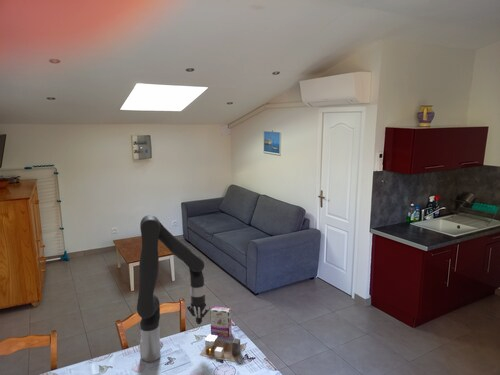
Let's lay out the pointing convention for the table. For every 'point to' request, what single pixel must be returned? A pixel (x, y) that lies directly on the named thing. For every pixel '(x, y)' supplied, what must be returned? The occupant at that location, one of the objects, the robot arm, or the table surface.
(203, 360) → the table surface
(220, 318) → the candy bar box
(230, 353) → the tan rectangular open box
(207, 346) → the cube with orange peg
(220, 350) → the matte white cube
